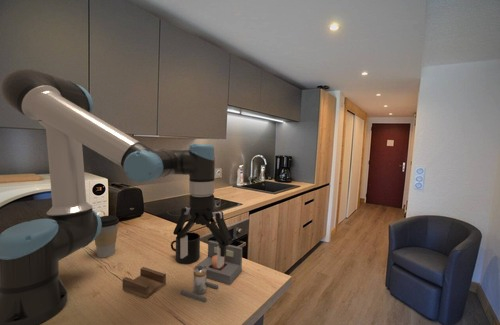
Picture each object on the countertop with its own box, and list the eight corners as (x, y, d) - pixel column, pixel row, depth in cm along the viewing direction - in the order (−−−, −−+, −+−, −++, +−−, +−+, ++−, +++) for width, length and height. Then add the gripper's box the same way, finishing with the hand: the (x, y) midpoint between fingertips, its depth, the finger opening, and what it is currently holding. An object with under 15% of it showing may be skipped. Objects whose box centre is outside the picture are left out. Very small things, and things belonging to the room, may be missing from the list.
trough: (146, 298, 69) (146, 287, 68) (122, 289, 73) (122, 278, 72) (165, 284, 76) (165, 274, 76) (143, 276, 80) (143, 266, 80)
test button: (220, 272, 80) (220, 261, 80) (209, 269, 82) (209, 258, 82) (226, 266, 84) (226, 256, 84) (215, 264, 86) (216, 253, 86)
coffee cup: (88, 260, 89) (87, 222, 88) (97, 250, 98) (97, 215, 97) (115, 258, 91) (115, 221, 90) (122, 248, 100) (122, 214, 99)
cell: (201, 296, 71) (201, 271, 70) (190, 292, 72) (190, 268, 72) (208, 289, 74) (209, 265, 74) (198, 285, 76) (198, 262, 75)
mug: (175, 251, 99) (176, 230, 99) (202, 254, 98) (203, 233, 97) (165, 262, 90) (165, 239, 89) (194, 265, 89) (195, 242, 88)
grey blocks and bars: (212, 304, 67) (212, 275, 66) (173, 291, 72) (174, 263, 72) (241, 271, 85) (242, 247, 85) (209, 262, 91) (209, 240, 90)
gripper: (243, 196, 70) (242, 264, 71) (177, 188, 79) (178, 248, 81) (232, 201, 63) (231, 276, 64) (161, 192, 72) (162, 258, 74)
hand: (201, 261), depth 73 cm, fingers open, 13 cm apart
